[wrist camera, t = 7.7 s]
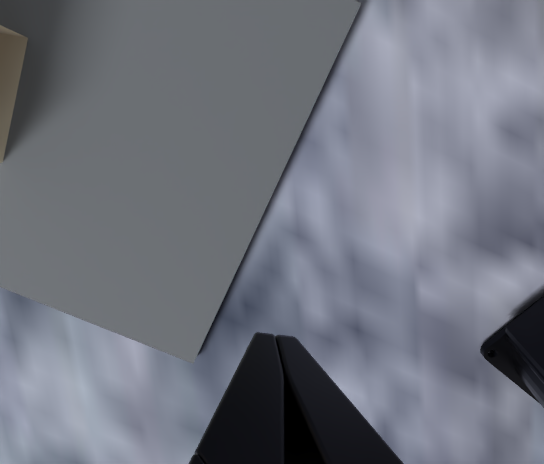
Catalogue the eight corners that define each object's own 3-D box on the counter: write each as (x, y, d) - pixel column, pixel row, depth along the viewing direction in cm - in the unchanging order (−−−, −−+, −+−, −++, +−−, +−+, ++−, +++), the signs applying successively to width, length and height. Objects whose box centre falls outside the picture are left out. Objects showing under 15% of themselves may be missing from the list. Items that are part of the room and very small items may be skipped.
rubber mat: (358, 6, 17) (361, 3, 16) (195, 357, 23) (193, 363, 23) (-284, -326, 14) (-308, -342, 14) (-263, 174, 21) (-279, 176, 20)
